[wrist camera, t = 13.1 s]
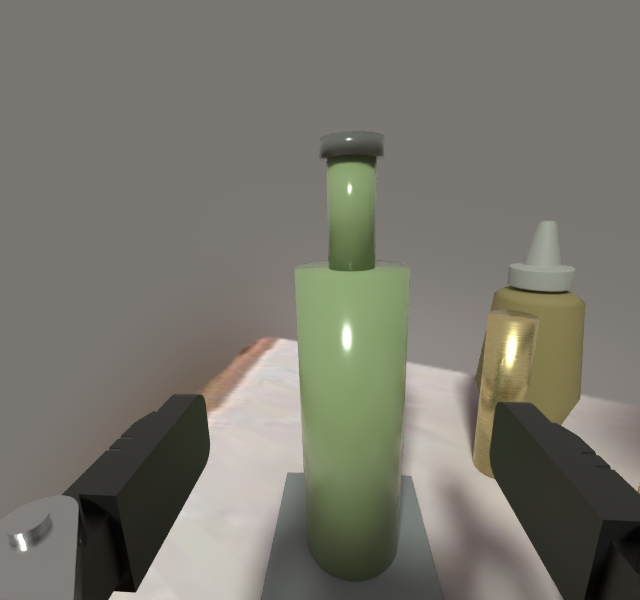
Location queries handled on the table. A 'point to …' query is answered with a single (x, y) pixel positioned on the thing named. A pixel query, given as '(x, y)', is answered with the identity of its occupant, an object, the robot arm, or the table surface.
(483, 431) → the brass rod
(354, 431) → the olive bottle
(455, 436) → the table surface
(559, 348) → the squeeze bottle
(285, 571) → the grey coaster
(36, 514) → the robot arm
